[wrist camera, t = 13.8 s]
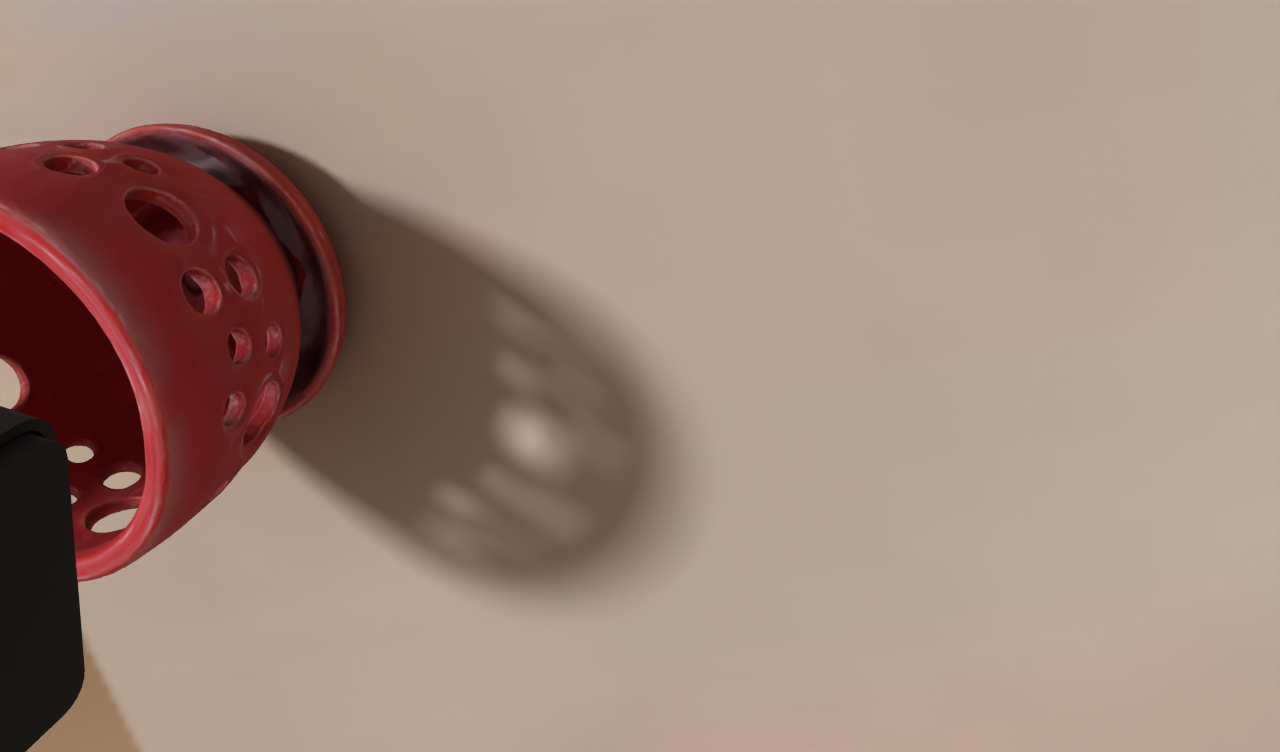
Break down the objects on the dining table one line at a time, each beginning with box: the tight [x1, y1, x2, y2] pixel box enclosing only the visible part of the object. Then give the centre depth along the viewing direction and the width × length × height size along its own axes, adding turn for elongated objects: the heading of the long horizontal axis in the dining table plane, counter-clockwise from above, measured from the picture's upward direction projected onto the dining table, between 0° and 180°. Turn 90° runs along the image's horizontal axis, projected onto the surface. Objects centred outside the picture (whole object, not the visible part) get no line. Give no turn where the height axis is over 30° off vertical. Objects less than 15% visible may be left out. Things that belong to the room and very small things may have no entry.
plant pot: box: [0, 124, 346, 582], centre depth 38 cm, size 13×13×12 cm
